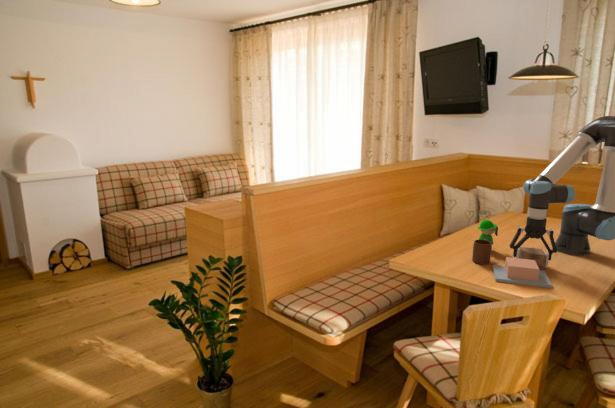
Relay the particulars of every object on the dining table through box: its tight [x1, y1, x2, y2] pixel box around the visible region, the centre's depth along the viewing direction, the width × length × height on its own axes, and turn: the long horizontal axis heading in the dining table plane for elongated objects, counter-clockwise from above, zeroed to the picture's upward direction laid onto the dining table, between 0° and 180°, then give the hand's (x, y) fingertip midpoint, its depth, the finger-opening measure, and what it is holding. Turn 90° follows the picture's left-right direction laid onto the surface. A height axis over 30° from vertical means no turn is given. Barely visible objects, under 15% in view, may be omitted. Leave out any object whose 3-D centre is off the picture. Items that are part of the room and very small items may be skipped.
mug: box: [471, 239, 493, 265], centre depth 194 cm, size 12×8×9 cm, turn 146°
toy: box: [477, 219, 499, 245], centre depth 208 cm, size 9×9×15 cm
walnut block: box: [518, 246, 546, 271], centre depth 188 cm, size 9×9×7 cm
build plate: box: [492, 256, 553, 289], centre depth 175 cm, size 20×16×6 cm
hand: (530, 265), depth 188 cm, fingers open, 11 cm apart
